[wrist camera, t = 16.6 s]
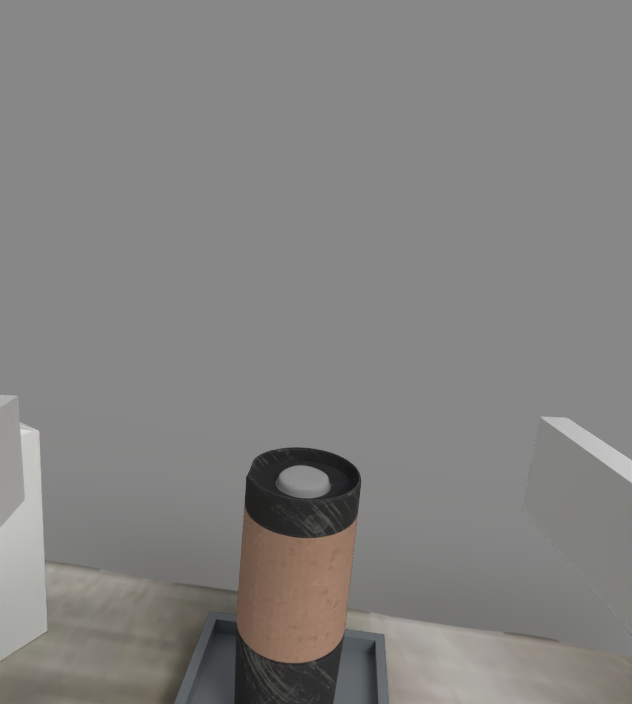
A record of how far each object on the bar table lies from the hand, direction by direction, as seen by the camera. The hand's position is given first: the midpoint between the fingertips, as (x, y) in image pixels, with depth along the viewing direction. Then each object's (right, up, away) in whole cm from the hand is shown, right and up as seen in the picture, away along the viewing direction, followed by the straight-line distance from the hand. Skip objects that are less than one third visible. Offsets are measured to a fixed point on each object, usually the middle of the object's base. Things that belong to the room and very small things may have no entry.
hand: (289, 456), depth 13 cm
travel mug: (-2, -25, +25) cm, 35 cm away
